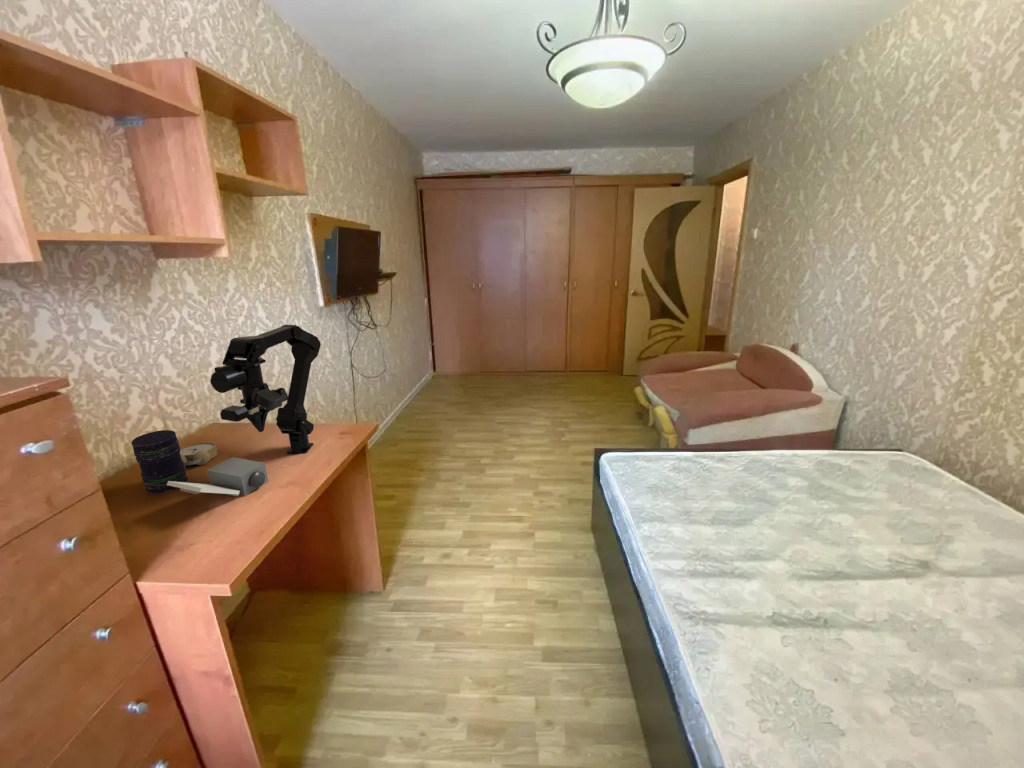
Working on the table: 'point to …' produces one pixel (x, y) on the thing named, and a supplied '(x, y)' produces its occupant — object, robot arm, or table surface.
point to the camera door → (202, 488)
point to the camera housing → (238, 475)
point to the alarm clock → (198, 453)
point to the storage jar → (159, 460)
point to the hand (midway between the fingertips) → (261, 431)
